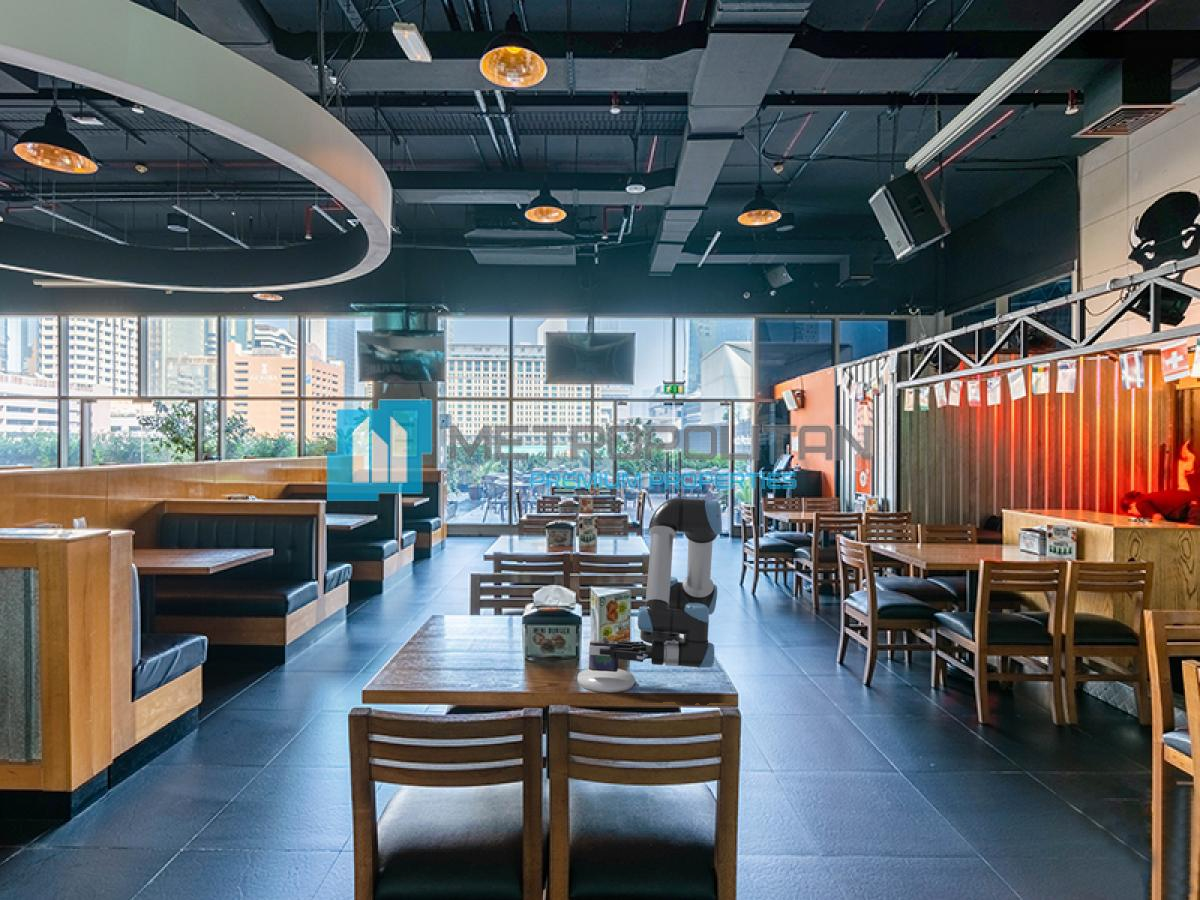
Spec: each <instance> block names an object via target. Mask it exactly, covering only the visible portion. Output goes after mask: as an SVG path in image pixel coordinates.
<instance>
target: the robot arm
mask: <svg viewBox="0 0 1200 900" xmlns="http://www.w3.org/2000/svg"><path fill="white" fill-rule="evenodd" d="M722 520H723V519H722V507H721V504H720V502H719V501H718V500H714V499H713V500H712V499H708V498H706V499H701V498H699V499H697V498H680V497H673V498H670V499H668V500H666V501H664V502H663V503H662V504H660V505H659V507H658V508H657V509H656V510H655V511H654V512H653V514H652V516H651V519H650V520H649V524H648V536H649V537H650V547H649V557H648V568H647V569H648V571H647V582H646V583H647V584H646V591H645V593H646V594H645V605H644V606H639V608H638V612H637V628H638V629H639V631H640V632H639V633H640V635H639V637H640V639H641V640H642V641H641V640H640V641H623V640H621V641H618V640H617V641H616V640H613V641H614V642H617V643H618V645H619V648H612V646H610V647H608V646H591V645H590V644H589V648H588V650H589V651H588V654H589V655H603V656H610V657H612V659H618V660H621V661H622V660H623V661H633V662H634V661H635V662H640V663H642V662H644V660H650V659H651V661H650V662H651V665H653V666H654V665H655V666H663V665H665V666H667V667H687V668H699V669H700V668H713V666H714V663H715V645H714V644H713V643H712V642H709V627H710V626H709V625H710V623H709V622H710V615H712V614H713V613H714V612H715V610H716V605H717V599H718V586H717V585H716V584H715V583H714V582H713V580H712V578H711V574H712V573H711V571H712V555H713V543H714V541H715V540H716V539H717V537H718V535H721V534H722V532H723V522H722ZM677 532H678V533H684V536H685V537H686V538H687V541H688V542H687V543H688V544H687V545H688V546H687V548H688V549H687V565H686V566H687V568H686V569H687V570H686V573H687V575H686V577H685V578H684V579H683V581H682V582H681V581H678V578H677V577H675V576H672V563H673V562H672V561H673V546H674V539H676V537H677ZM680 635H683V641H681V640H680V639H681V636H680ZM644 642H648V643H651V645H650V644H646V643H644ZM589 655H588V656H589Z"/></svg>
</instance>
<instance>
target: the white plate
mask: <svg viewBox="0 0 1200 900" xmlns="http://www.w3.org/2000/svg"><path fill="white" fill-rule="evenodd" d="M577 683H578V685H579V686H580V687H582V688H584V689H586V690H589V691H593V692H598V693H618V692H619V693H621V692H624V691H628V690H630V689H631V688H633V687H634V685H635V675H633V674H632V673H631V672H629V671H627V670H626V669H625V670H624V669H622V668H618V670H617V672H610V671H596V670H595V671H592V670H589V668H587V669H584V670H581V671H580V672H579V673H578V674H577Z"/></svg>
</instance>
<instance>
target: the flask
mask: <svg viewBox="0 0 1200 900" xmlns="http://www.w3.org/2000/svg"><path fill="white" fill-rule="evenodd" d="M614 641H615V640H609V639H608V638H607V635H603V636H602V637H601V640H590V641H589V646H590V645H591V646H608V647H610V646H612V648H619V645H618V643H617V642H614ZM588 669H589V670H592V671H595V670H596V671H610V672H617V670H618V669H619V659H612V657H610V656H603V655H588Z"/></svg>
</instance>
